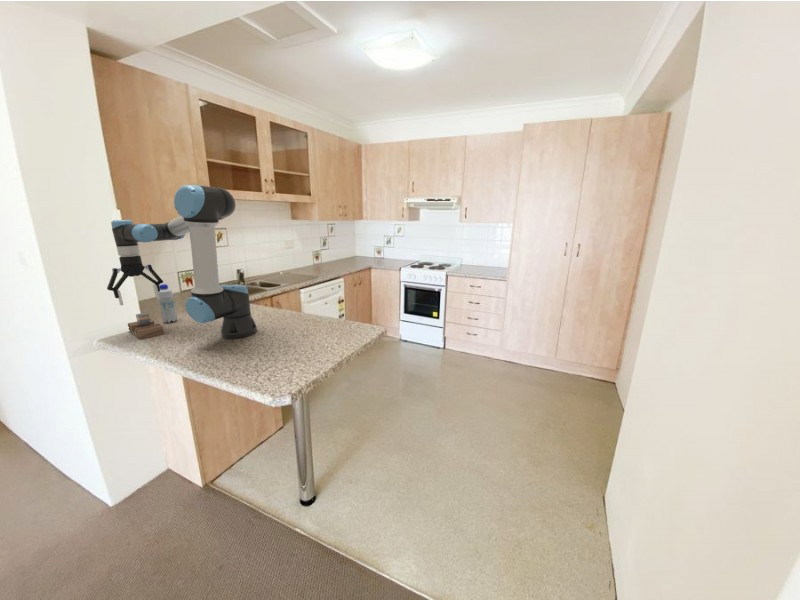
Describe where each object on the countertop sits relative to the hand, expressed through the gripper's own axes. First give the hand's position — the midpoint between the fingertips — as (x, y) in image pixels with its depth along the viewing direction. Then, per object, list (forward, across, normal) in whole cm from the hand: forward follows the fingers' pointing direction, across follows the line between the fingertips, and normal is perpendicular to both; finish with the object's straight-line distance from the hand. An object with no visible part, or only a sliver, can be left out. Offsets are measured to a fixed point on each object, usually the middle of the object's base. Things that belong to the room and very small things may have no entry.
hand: (140, 301), depth 150 cm
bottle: (+15, -13, -11) cm, 23 cm away
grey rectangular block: (+14, 0, -1) cm, 14 cm away
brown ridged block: (+15, 0, -1) cm, 15 cm away
